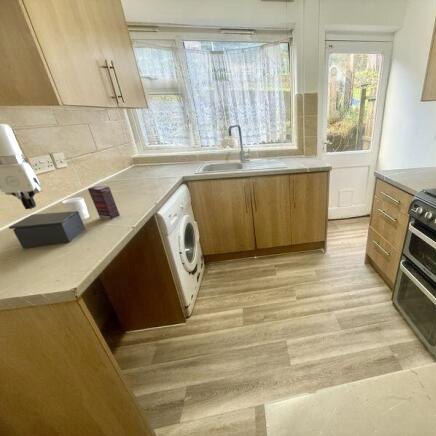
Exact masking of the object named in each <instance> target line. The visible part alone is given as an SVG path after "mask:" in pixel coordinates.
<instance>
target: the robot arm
mask: <svg viewBox="0 0 436 436" xmlns="http://www.w3.org/2000/svg"><path fill="white" fill-rule="evenodd" d="M0 192H2V193H4V195H8V196H14V197H15V198H17V199H18V200H20V202H21V204H22V206H23V207H24V209H25V210H32V209H34V208H36V207H37V203H36V201H35V198H34V197H35V195H36V194H40V193H41V192H43V190H42V188H41V183H40V180H39V178H38V177H37V175H36V173H35V171H34V170H33V168H32V167H31V165H30V163H28V162H26V159H25V158H24V155H23V152H22V150H21V148H20V146H19V143H18V141H17V139H16V136H15V134H14V132H13V129H12V127H11V126H10V125H8V124H6V123H0Z"/></svg>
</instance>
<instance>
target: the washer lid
mask: <svg viewBox="0 0 436 436" xmlns="http://www.w3.org/2000/svg"><path fill="white" fill-rule="evenodd" d="M77 213H79V212H78V211H71V212H67V211H60V212H59V211H58V212H48V213H36V214H35V213H34V214H31V215H28V216H26V217H25V218H23V219H21V220H19V221H17V222H16V223H13V224H12V225H10V226H8V229H9V230H13V229H15V228H26V227H37V226H49V225H60V224H63V223H64V222H66V221H67V220H69V219H70V218H72V217H73V216H75V215H76V214H77Z"/></svg>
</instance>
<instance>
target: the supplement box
mask: <svg viewBox="0 0 436 436" xmlns="http://www.w3.org/2000/svg"><path fill="white" fill-rule="evenodd" d="M87 190H88V193H89V196H90V198H91V200H92V202H93V205H94V207H95V210H96V212H97V214H98V216H99V219H104V220H105V219H106V220H114V219H116V218H119V217H121V214H120V212H119V209H118V207H117V204H116V202H115V198H114V195H113V193H112V190H111V188H110V186H103V185H102V186H101V185H96V186H92V187H89V188H87Z"/></svg>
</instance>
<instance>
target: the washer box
mask: <svg viewBox="0 0 436 436" xmlns="http://www.w3.org/2000/svg"><path fill="white" fill-rule="evenodd" d="M12 231H13V233H14V234H15V236H16V239H17V240H18V242H19V244H20V246H21V248H22V249H23V250H28V249H34V248H42V247H49V246H56V245H62V244H69V243H71V242H73V241H74V240H76V238H78V236H80V235H81V234H82V233H84V232H85V231H86V227H85V224H84V222H83V220H82V219H81V217H80V214H79V213H77V214H76V215H75V216H73V217H72V218H70V219H69V220H67V221H66V222H64V223H63V224H60V225H49V226H37V227H26V228H15V229H12Z"/></svg>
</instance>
